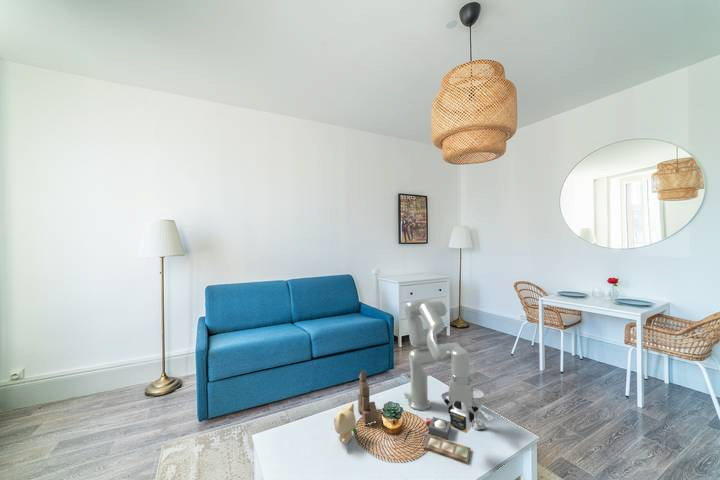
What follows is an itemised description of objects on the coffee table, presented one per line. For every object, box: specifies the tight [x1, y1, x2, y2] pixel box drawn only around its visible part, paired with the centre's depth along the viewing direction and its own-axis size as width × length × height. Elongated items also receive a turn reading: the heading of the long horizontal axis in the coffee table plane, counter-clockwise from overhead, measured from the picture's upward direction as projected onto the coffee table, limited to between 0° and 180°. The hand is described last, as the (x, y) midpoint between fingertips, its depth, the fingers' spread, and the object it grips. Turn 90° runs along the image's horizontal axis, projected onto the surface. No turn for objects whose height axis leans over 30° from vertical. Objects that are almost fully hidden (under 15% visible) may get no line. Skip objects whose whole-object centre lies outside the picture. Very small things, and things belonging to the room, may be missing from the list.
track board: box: [425, 434, 472, 465], centre depth 126 cm, size 18×9×1 cm, turn 61°
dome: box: [434, 420, 446, 430], centre depth 138 cm, size 5×5×5 cm
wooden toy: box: [357, 370, 377, 424], centre depth 151 cm, size 16×7×25 cm, turn 15°
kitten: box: [333, 403, 357, 445], centre depth 134 cm, size 15×10×15 cm
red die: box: [425, 417, 432, 428], centre depth 143 cm, size 3×3×3 cm
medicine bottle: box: [449, 401, 473, 434], centre depth 123 cm, size 7×7×12 cm
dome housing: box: [428, 416, 452, 441], centre depth 138 cm, size 9×9×4 cm
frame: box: [421, 432, 430, 449], centre depth 133 cm, size 11×11×1 cm
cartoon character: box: [472, 388, 496, 431], centre depth 141 cm, size 25×12×20 cm, turn 19°
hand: (461, 417), depth 123 cm, fingers closed on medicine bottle, 8 cm apart
